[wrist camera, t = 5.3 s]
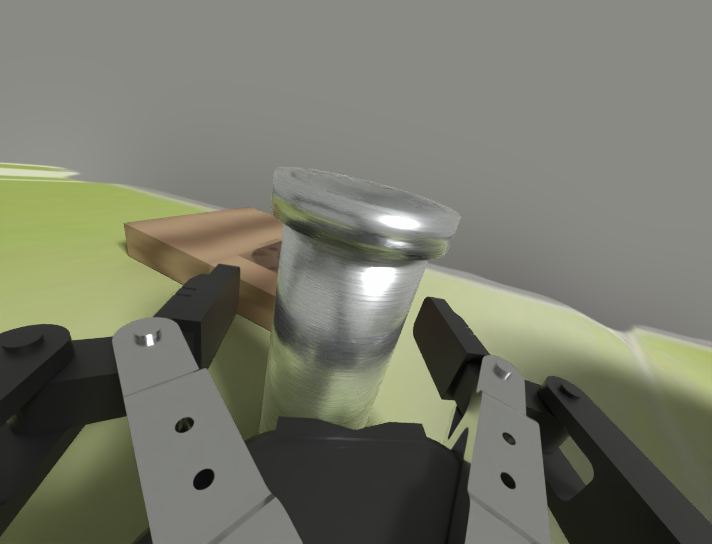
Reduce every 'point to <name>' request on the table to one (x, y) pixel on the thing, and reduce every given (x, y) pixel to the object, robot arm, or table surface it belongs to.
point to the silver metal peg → (343, 290)
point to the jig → (215, 252)
